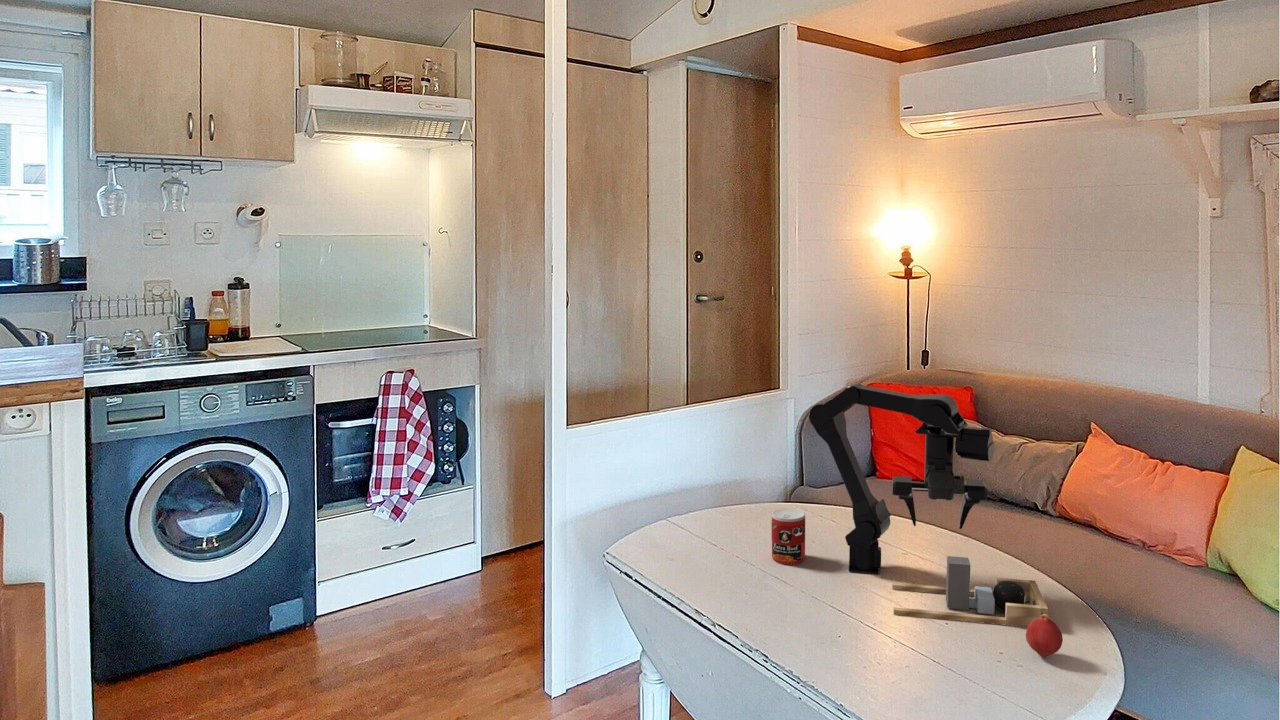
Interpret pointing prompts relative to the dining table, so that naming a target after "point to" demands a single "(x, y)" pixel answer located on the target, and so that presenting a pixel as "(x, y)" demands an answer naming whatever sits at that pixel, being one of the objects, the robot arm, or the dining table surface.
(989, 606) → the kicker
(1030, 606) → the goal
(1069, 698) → the dining table surface
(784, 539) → the canned food
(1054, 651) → the onion
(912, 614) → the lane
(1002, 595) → the billiard ball
